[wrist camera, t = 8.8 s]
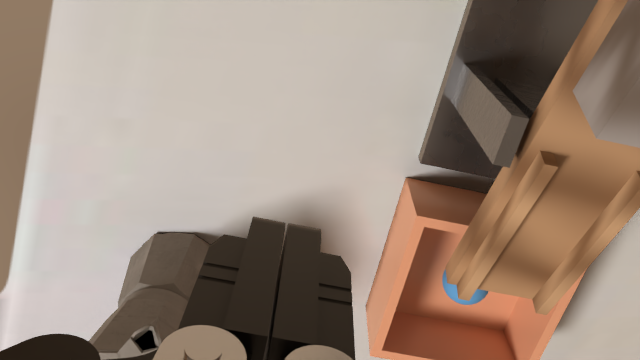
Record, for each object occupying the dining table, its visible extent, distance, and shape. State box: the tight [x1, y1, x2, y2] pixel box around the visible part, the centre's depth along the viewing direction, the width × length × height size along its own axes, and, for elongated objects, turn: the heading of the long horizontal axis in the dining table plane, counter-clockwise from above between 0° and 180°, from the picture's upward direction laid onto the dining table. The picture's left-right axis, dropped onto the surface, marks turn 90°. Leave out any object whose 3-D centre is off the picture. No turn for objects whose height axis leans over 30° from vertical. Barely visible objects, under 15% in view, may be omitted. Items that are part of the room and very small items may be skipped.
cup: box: [366, 178, 586, 360], centre depth 46 cm, size 14×14×6 cm
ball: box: [442, 269, 489, 305], centre depth 46 cm, size 4×4×4 cm
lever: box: [445, 0, 640, 315], centre depth 30 cm, size 23×8×6 cm, turn 167°
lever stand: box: [418, 0, 598, 179], centre depth 35 cm, size 16×13×13 cm
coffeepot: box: [88, 232, 210, 360], centre depth 42 cm, size 15×9×18 cm, turn 157°
